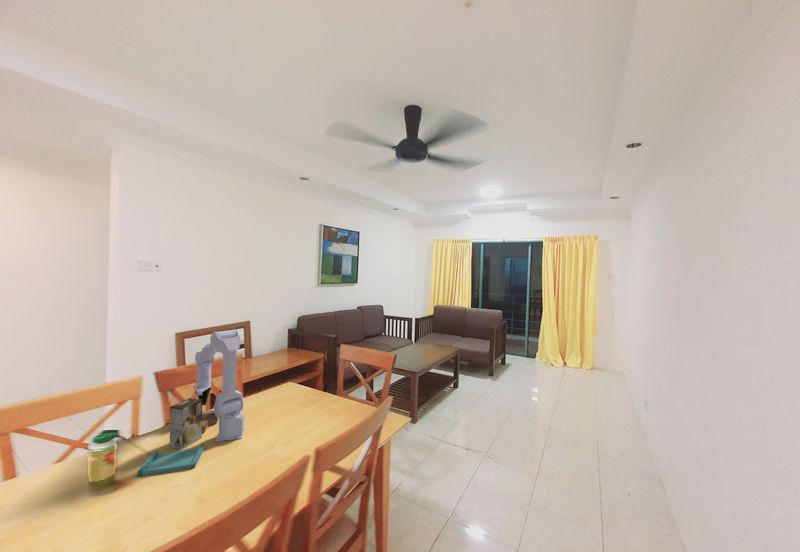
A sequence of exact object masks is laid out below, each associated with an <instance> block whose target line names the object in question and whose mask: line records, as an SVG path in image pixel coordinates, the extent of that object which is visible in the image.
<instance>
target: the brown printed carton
mask: <svg viewBox="0 0 800 552" xmlns="http://www.w3.org/2000/svg"><path fill="white" fill-rule="evenodd" d="M218 423H219V418H218V417H217V416H216V415H215V412H214V409H213V410H212V409H211V410H202V433H205V432H206V431H207V429H208V427H209V425H215V424H218Z"/></svg>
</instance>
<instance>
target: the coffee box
mask: <svg viewBox="0 0 800 552" xmlns="http://www.w3.org/2000/svg"><path fill="white" fill-rule="evenodd" d="M202 411H203V405H202V399H199V398H192V397H189V398H187V399H185V400H183V401H182V400H181V401H180V402H178V403H175V404H173V405H172V406H171V405H170V406H169V448H171V449H172V448H173V449H179V450H185V448H187V447H188V446H191V445H192V444H194V443H195V442H197V441H198V440H200V439H201V438H202V437H203V436H202V435H203V434H202V433H203V432H202Z"/></svg>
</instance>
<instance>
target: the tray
mask: <svg viewBox="0 0 800 552" xmlns="http://www.w3.org/2000/svg"><path fill="white" fill-rule="evenodd" d="M205 449H206V443H202V444H200V447H198V448H197V447H196V448H190V449H181V450H175V451H168V452H160V449H154V450H153V451H152V453H151V455H150V456H149V457H148V458H147V459H146V461H145V462H144V464H142V466H141V467H140V468H139V470H138V471H137V477H145V476H151V475H158V474H164V473H171V472H177V471H183V470H190V469H191V470H192V469H196V467H197V464H198V462H199V461H200V459H201V456H202V454H203V452H204V451H205Z"/></svg>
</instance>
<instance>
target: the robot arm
mask: <svg viewBox="0 0 800 552" xmlns="http://www.w3.org/2000/svg"><path fill="white" fill-rule="evenodd" d="M209 341H210V342H209V343H206V345H205V346H204V347H203V348H202V349H201V351H197V352H195V354H194V355H195V356H194V359H195V364H196V384H195V385H194V386H193V389H196V390H195V395H196V396H197V399H202V406H206V405H207V402H208V399H209V398H208V397H209V395H210V392H211V390H212V366H213V363H214V361H215V360H214V359H215V355H216V354H217V353H220V354H222V381H221V382H222V388H221V393H219V394H218V395H217V396H216V398H215V403H214V405H213V406H214V407H213V408H214V409H213V410H214V412H215V415H216V416H217V417H218V434H217V437H216V439H215V442H224V441H231V440H238V439H240V440H241V439H242V438H243V435H244V432H245V412H241V411H242V410H243V409H244V406H245V402H244V397H243V393H242V392H240V390H237V389H236V387H237V381H236V380H237V351H238V350H239V349H240V346H241V334H240V332H239V331H238V330H237V329H236V328H235V329H231V330H230V329H229V330H222V331H213V332H212V333H211V334H210V340H209Z"/></svg>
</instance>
